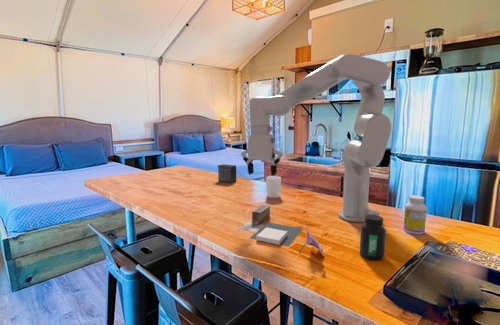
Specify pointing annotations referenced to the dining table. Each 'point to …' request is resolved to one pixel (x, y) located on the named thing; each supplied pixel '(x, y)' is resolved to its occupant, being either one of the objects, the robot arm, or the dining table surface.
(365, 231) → the supplement bottle
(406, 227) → the supplement bottle
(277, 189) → the white cup
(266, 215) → the brown and grey block
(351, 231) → the dining table surface
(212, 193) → the dining table surface
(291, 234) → the mat
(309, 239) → the lily
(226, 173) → the small box
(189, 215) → the dining table surface
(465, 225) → the dining table surface
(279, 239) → the tile
